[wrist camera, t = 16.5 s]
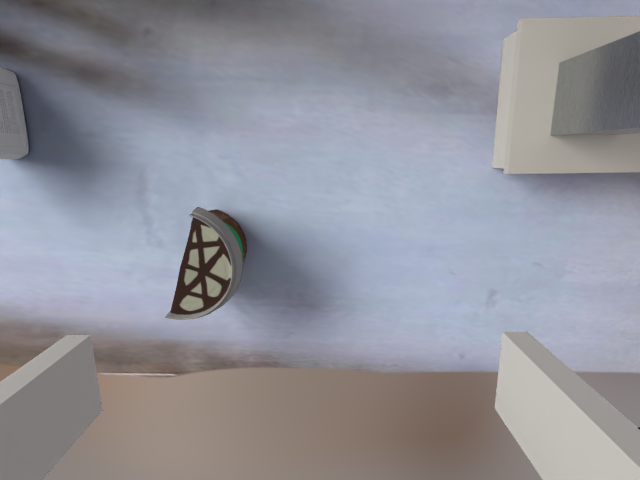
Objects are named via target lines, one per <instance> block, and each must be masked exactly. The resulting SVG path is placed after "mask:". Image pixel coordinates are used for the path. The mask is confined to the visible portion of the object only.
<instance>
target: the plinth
mask: <svg viewBox="0 0 640 480" xmlns="http://www.w3.org/2000/svg"><path fill="white" fill-rule="evenodd" d="M639 31H640V16H607V17H558V18H522V19H521V20H519V21H518V23H517V31H515V32H514V33H512V34H511V35H509V36H508V37H506V38H505V39H503V49H502V61H501V72H500V84H499V95H498V107H497V118H496V130H495V141H494V153H493V164H492V168H503V169H504V172H503V174H549V173H618V172H640V133H636V134H621V135H550V134H551V126H552V118H553V109H554V101H555V93H556V85H557V77H558V69H559V63H560V62H563V61H565V60H568V59H570V58H573V57H575V56H578V55H580V54H583V53H585V52H588V51H590V50H593V49H596V48H598V47H601V46H603V45H606V44H608V43H611V42H613V41H616V40H618V39H621V38H623V37H626V36H629V35H631V34H634V33H636V32H639Z"/></svg>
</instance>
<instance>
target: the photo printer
mask: <svg viewBox="0 0 640 480" xmlns="http://www.w3.org/2000/svg"><path fill="white" fill-rule="evenodd" d="M27 154H28V137H27V130H26V124H25V117H24V111H23V106H22V100H21V94H20V89H19V84H18V80H17V77H16V75H15V73H14V72H12V71H9V70H7V69H4V68H1V67H0V159H19V158H22V157H24V156H25V155H27Z"/></svg>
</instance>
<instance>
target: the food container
mask: <svg viewBox="0 0 640 480" xmlns="http://www.w3.org/2000/svg"><path fill="white" fill-rule="evenodd" d="M190 216H192V217H193V220H192V223H191V230H190V234H189V238H188V242H187V245H186V249H185V253H184V256H183V260H182V263H181V267H180V272H179V277H178V282H177V287H176V291H175V295H174V300H173V304H172V308H171V311H170V312H169V313H168V314H167V316H166V317H165V318H169V319H176V320H186V319H195V318H199V317H202V316H205V315H207V314H210V313H211V312H213V311H215V310H216V309H218V308H220V307H221V306H223V305H224V304H225V303H226V302H227V301H228V300H229V299H230V298H231V297H232V296H233V294H234V293H235V291H236V289H237V288H238V285H239V283H240V280H241V275H242V266H243V261H244V259H245V256H246V251H247V244H246V238H245V235H244V233H243V231H242V229H241V227H240V226H239V224H238V223H237V222H236V221H235V220H234V219H233V218H232V217H230V216H229V215H227V214H226V213H224V212H222V211H219V210H211V211H207V210H205V209H202V208H200V207H197V208H196V209H195V210H194V211H193V212H192V214H190Z"/></svg>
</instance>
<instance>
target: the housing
mask: <svg viewBox="0 0 640 480" xmlns="http://www.w3.org/2000/svg"><path fill="white" fill-rule="evenodd" d="M636 133H640V31H639V32H636V33H634V34H631V35H629V36H626V37H623V38H621V39H618V40H616V41H613V42H611V43H608V44H606V45H603V46H601V47H598V48H596V49H593V50H590V51H588V52H585V53H583V54H580V55H578V56H575V57H573V58H570V59H568V60H565V61H563V62H560V63H559V69H558V77H557V85H556V93H555V101H554V109H553V118H552V126H551V134H550V135H621V134H636Z"/></svg>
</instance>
